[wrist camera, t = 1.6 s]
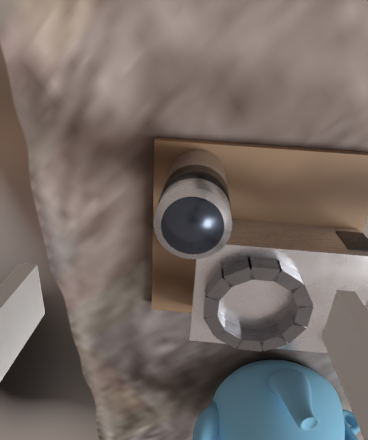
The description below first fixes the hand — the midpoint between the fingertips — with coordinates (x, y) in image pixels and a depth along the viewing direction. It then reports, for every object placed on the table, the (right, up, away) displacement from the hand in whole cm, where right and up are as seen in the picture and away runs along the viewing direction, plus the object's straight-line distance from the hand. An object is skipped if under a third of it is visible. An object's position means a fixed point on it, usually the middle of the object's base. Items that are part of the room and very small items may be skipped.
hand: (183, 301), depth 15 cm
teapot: (+11, -19, +29) cm, 36 cm away
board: (+7, +2, +19) cm, 20 cm away
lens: (+1, +8, +15) cm, 17 cm away
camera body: (+9, -2, +19) cm, 21 cm away
